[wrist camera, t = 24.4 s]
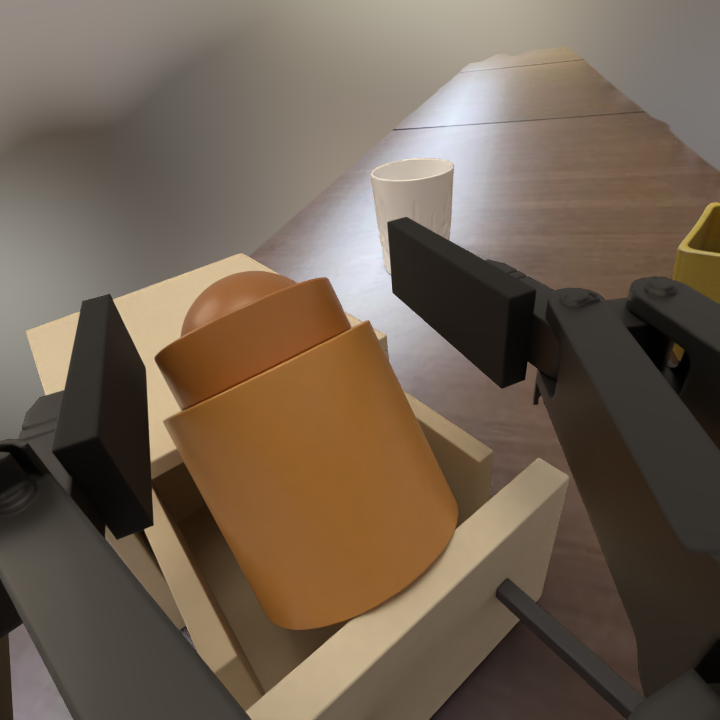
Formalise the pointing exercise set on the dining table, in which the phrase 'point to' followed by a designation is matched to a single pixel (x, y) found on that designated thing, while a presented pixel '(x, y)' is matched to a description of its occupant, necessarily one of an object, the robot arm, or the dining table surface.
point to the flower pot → (700, 259)
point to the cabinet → (150, 335)
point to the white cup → (413, 196)
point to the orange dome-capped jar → (304, 448)
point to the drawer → (392, 617)
